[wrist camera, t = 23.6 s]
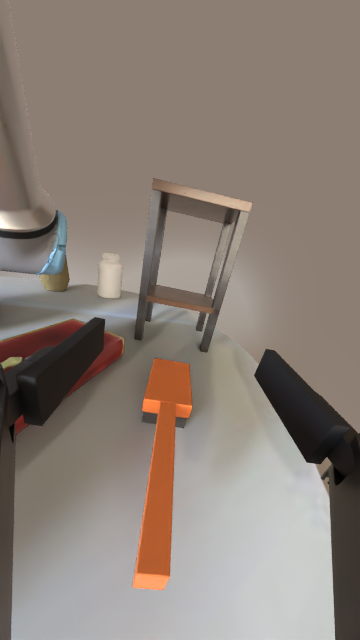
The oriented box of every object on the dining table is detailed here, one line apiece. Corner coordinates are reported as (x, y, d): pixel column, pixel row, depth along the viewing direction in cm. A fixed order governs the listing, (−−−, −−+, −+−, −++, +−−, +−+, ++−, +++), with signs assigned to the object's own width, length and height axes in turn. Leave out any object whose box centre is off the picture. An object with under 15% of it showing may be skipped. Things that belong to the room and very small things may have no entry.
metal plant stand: (207, 352, 39) (257, 188, 28) (134, 339, 38) (154, 162, 26) (200, 329, 51) (234, 208, 40) (145, 318, 50) (163, 191, 39)
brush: (188, 603, 10) (205, 581, 9) (96, 596, 10) (98, 571, 9) (184, 383, 28) (189, 363, 27) (150, 377, 28) (154, 357, 26)
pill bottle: (98, 298, 58) (99, 252, 53) (96, 292, 64) (98, 250, 59) (122, 299, 62) (125, 257, 56) (118, 293, 68) (121, 254, 63)
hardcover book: (123, 356, 31) (125, 336, 30) (-57, 493, 12) (-76, 458, 11) (73, 336, 34) (73, 317, 33) (-134, 421, 15) (-158, 385, 14)
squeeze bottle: (73, 288, 62) (72, 235, 56) (63, 294, 55) (61, 234, 49) (48, 285, 60) (44, 229, 54) (34, 290, 53) (28, 227, 47)
